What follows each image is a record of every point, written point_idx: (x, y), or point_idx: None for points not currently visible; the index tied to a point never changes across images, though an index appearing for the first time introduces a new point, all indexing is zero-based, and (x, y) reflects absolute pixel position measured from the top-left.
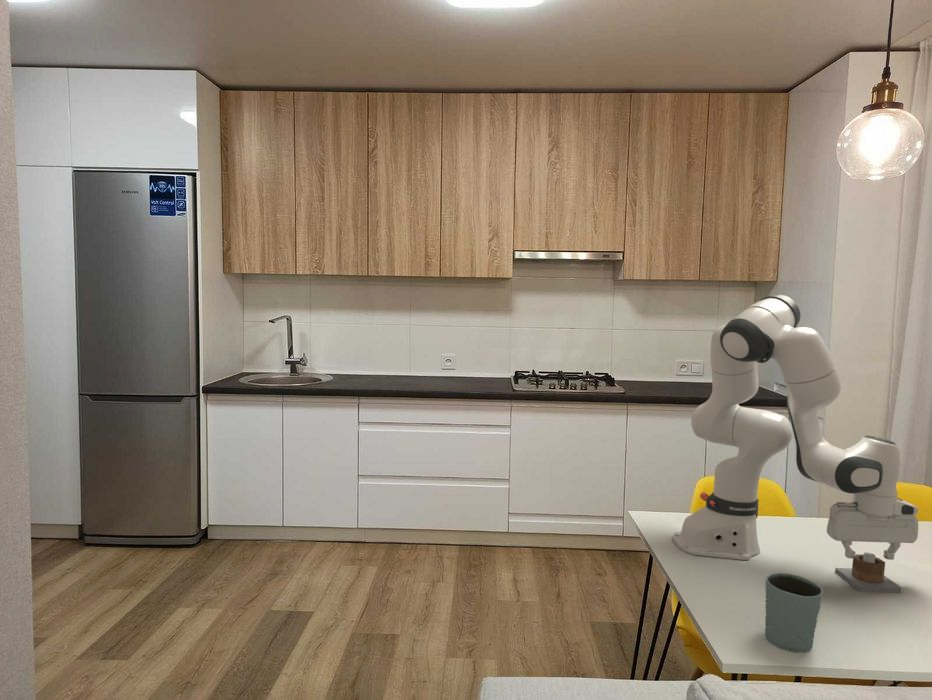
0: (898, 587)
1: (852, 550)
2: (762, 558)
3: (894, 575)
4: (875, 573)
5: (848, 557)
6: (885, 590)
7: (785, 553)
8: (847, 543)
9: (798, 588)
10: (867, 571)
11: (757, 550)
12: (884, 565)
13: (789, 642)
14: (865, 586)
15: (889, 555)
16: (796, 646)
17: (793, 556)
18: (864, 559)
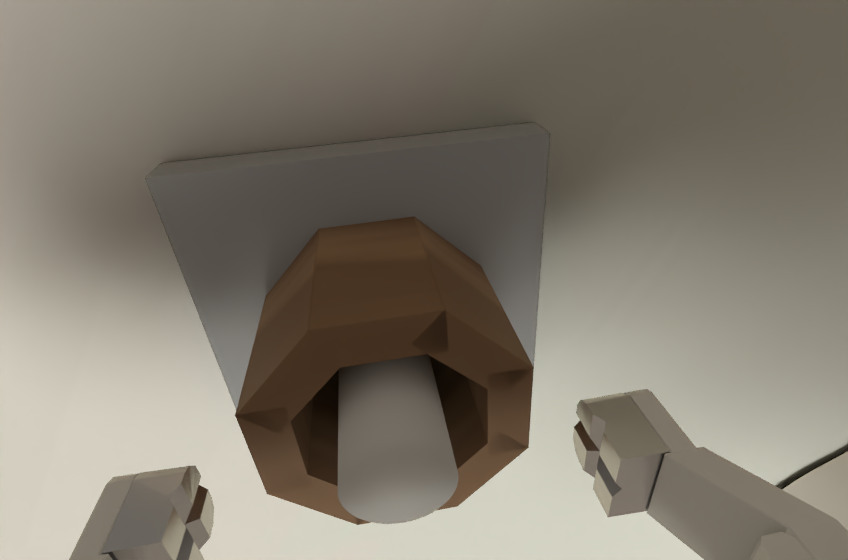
0: (179, 174)
1: (624, 489)
2: (801, 446)
3: (122, 435)
4: (382, 264)
5: (647, 396)
6: (307, 150)
7: (639, 519)
8: (840, 551)
9: None
10: (456, 279)
11: (804, 497)
12: (252, 379)
13: None
14: (497, 137)
15: (156, 511)
16: None
17: None
18: (445, 425)
